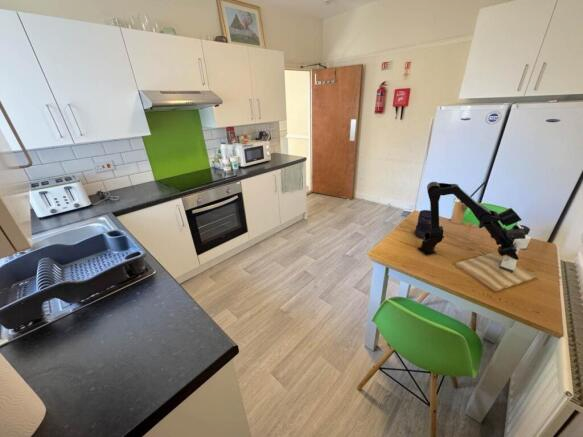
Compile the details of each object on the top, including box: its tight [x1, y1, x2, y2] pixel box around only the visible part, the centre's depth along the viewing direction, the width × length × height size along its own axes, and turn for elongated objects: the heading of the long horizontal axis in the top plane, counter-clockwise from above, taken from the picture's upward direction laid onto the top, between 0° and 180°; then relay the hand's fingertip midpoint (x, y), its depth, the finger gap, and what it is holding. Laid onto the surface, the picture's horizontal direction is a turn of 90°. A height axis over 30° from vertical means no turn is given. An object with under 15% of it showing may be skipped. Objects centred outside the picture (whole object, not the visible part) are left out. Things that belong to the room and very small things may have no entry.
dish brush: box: [499, 242, 522, 273], centre depth 113 cm, size 8×5×14 cm, turn 135°
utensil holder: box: [449, 181, 486, 224], centre depth 153 cm, size 11×11×30 cm
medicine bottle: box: [513, 224, 532, 250], centre depth 132 cm, size 7×7×12 cm
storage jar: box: [414, 209, 431, 240], centre depth 143 cm, size 10×10×18 cm
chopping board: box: [454, 252, 538, 293], centre depth 116 cm, size 26×20×1 cm
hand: (516, 256), depth 113 cm, fingers open, 5 cm apart
